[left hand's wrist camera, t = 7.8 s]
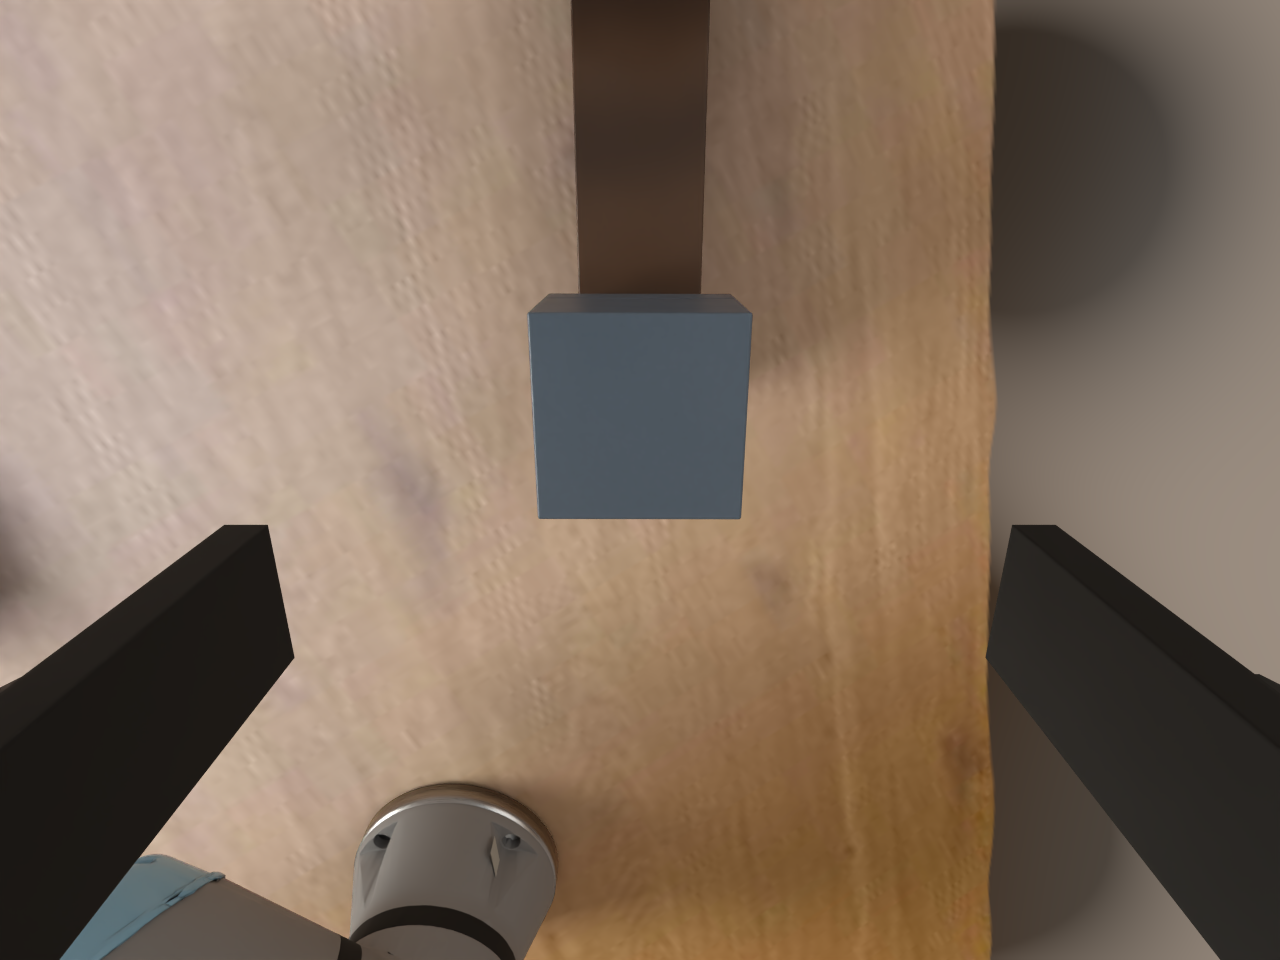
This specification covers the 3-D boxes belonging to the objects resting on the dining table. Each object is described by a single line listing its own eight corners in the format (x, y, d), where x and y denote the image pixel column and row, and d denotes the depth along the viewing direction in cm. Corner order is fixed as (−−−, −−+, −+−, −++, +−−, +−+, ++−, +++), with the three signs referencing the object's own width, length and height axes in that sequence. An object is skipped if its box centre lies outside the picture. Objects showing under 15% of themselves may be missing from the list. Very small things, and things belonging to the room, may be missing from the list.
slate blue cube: (723, 466, 30) (741, 520, 24) (555, 466, 30) (537, 519, 24) (731, 293, 27) (753, 312, 22) (548, 293, 27) (526, 312, 22)
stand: (689, 396, 43) (714, 491, 28) (589, 396, 43) (564, 490, 28) (703, -139, 34) (752, -404, 19) (577, -140, 34) (530, -404, 19)
